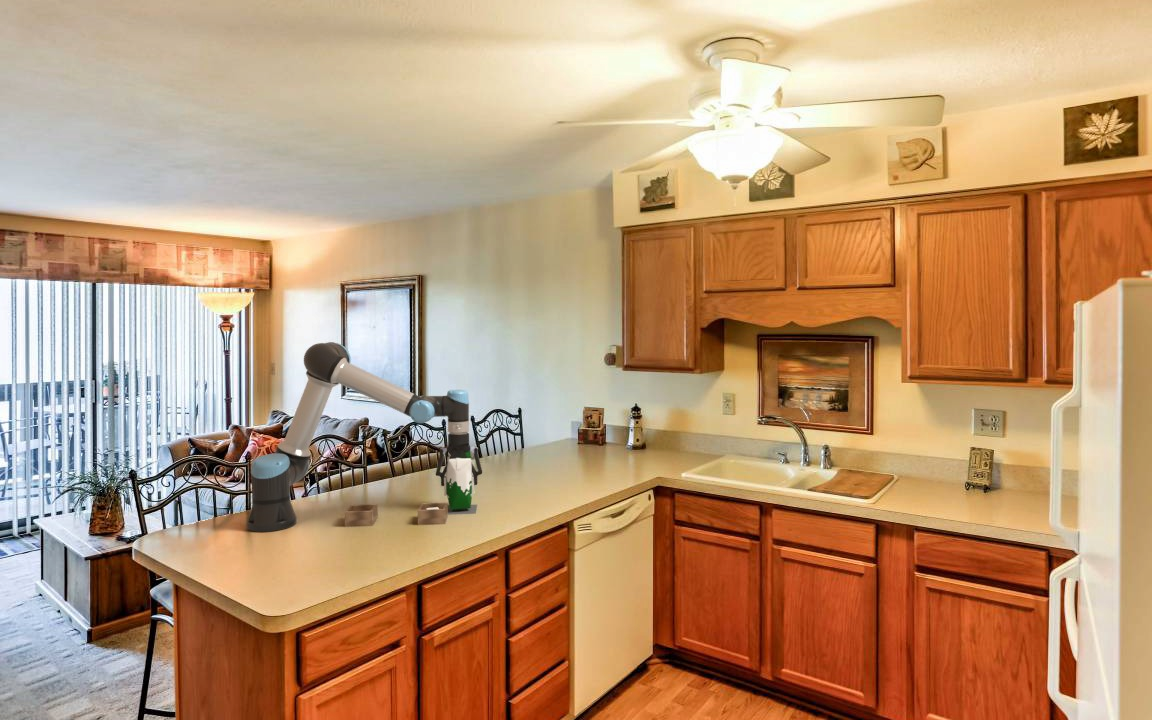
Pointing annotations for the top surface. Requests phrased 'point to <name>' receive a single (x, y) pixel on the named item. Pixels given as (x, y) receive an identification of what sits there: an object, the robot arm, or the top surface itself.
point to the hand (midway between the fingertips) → (459, 494)
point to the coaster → (463, 510)
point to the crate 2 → (432, 514)
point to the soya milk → (459, 482)
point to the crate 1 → (361, 515)
